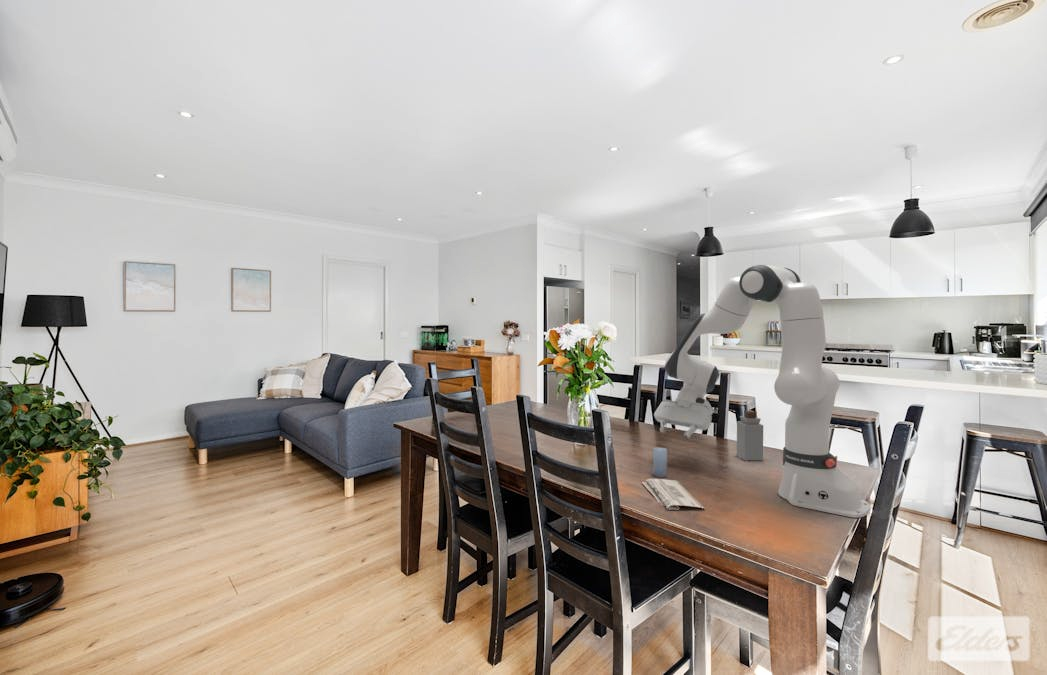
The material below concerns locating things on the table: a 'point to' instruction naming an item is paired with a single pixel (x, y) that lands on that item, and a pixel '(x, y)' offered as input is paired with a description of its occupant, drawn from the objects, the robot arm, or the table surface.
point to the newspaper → (671, 493)
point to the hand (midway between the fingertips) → (674, 434)
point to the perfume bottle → (750, 437)
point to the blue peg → (660, 462)
